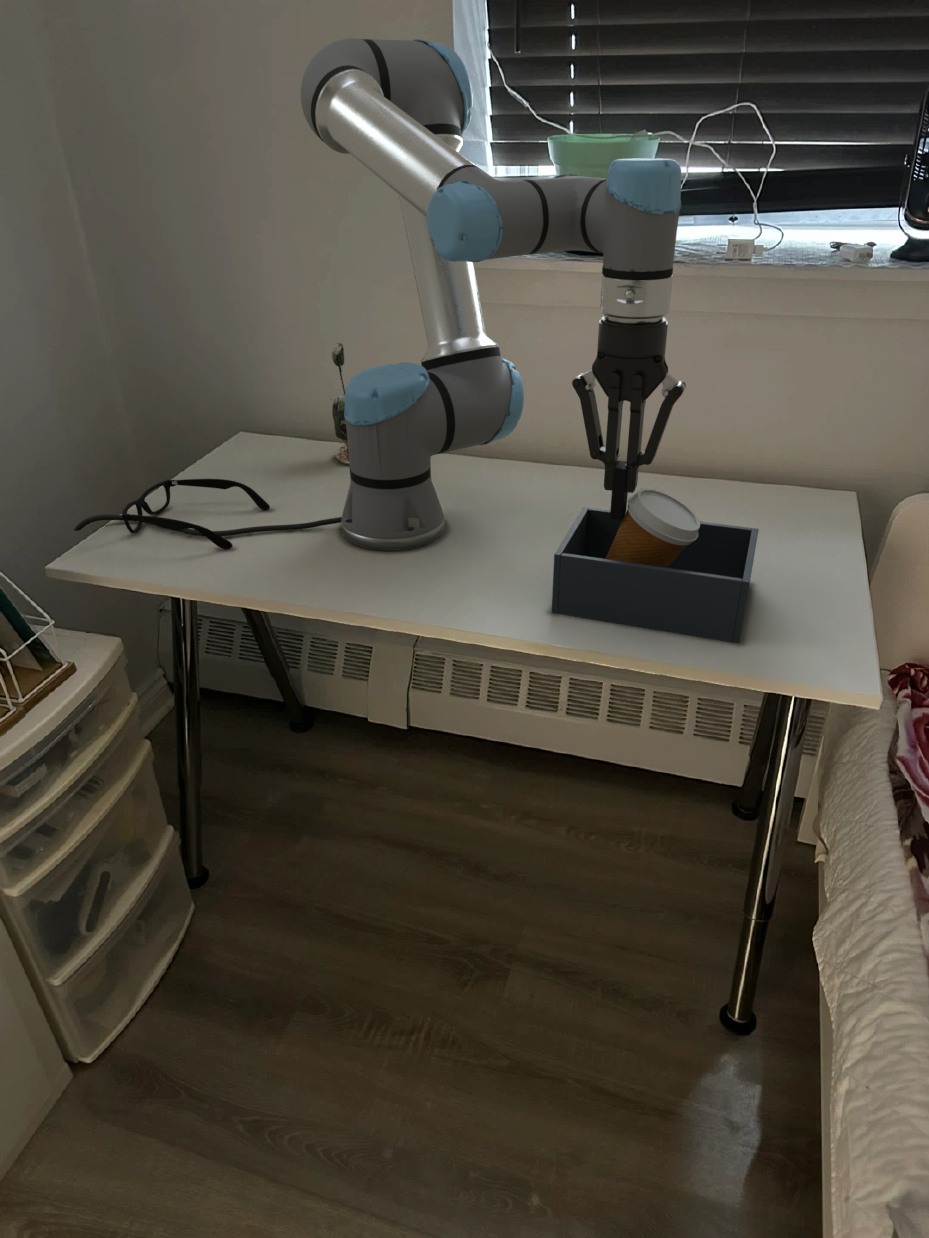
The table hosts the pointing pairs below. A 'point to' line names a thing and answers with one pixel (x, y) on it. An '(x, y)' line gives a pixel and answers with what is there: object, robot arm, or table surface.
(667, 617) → the bin
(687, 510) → the disposable coffee cup
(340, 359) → the plant with pod
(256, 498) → the glasses
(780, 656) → the table surface
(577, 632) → the table surface
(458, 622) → the table surface
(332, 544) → the table surface
